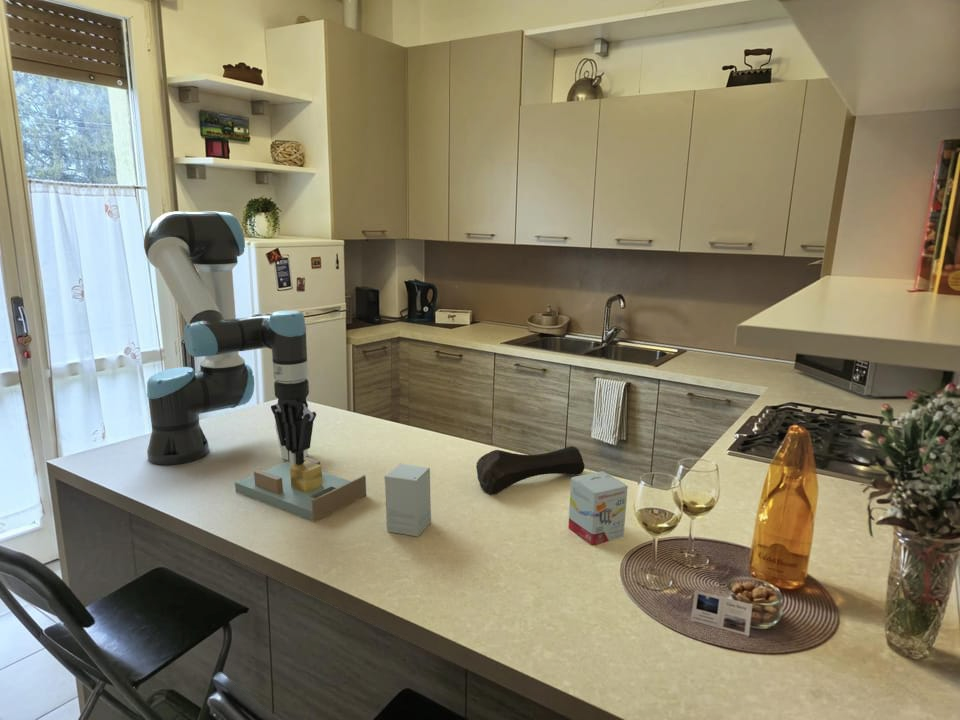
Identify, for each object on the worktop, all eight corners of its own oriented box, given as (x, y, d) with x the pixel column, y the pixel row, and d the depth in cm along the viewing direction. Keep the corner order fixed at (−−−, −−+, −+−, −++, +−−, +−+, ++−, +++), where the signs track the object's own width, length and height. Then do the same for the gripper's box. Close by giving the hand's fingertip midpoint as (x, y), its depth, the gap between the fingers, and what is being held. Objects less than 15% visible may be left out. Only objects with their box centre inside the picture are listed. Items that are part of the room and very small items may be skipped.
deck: (235, 491, 149) (233, 468, 148) (289, 469, 162) (287, 448, 161) (314, 522, 135) (312, 497, 134) (366, 495, 148) (365, 472, 147)
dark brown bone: (480, 504, 149) (577, 495, 162) (495, 475, 143) (594, 468, 156) (465, 469, 156) (559, 462, 169) (479, 440, 150) (574, 435, 163)
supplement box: (432, 521, 136) (431, 467, 133) (417, 537, 129) (416, 480, 126) (401, 516, 138) (399, 462, 135) (385, 531, 131) (383, 475, 128)
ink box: (592, 546, 126) (594, 492, 123) (567, 528, 133) (569, 476, 131) (625, 537, 130) (629, 484, 127) (599, 519, 137) (602, 469, 134)
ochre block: (291, 487, 146) (290, 467, 145) (308, 480, 150) (306, 460, 149) (306, 492, 143) (304, 472, 142) (322, 485, 148) (321, 465, 146)
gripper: (258, 378, 143) (266, 475, 148) (297, 387, 136) (303, 488, 142) (285, 371, 149) (291, 464, 155) (323, 380, 142) (328, 477, 148)
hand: (297, 475), depth 148 cm, fingers closed
